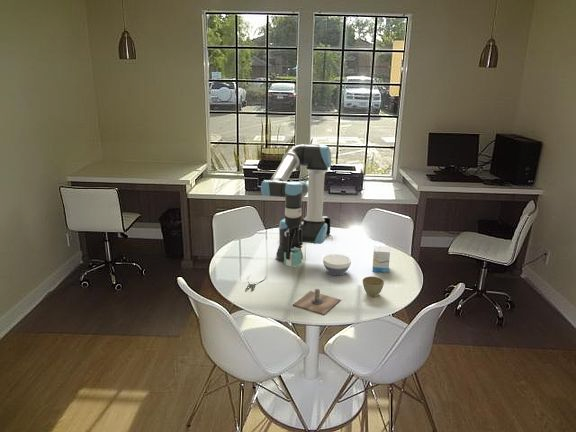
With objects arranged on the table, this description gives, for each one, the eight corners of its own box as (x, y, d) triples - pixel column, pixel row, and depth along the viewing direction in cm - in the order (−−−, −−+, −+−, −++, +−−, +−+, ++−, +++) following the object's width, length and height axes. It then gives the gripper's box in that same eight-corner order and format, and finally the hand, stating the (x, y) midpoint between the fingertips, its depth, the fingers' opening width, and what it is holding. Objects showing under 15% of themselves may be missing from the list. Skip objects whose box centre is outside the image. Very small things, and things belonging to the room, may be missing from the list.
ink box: (388, 273, 238) (390, 252, 235) (372, 271, 240) (373, 251, 237) (388, 266, 246) (389, 246, 243) (372, 265, 248) (373, 245, 245)
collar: (284, 264, 211) (284, 252, 210) (290, 260, 216) (290, 248, 214) (294, 266, 208) (295, 254, 206) (301, 262, 213) (301, 250, 211)
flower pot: (359, 290, 218) (360, 276, 216) (379, 289, 219) (380, 276, 217) (364, 299, 209) (365, 285, 207) (385, 299, 210) (386, 285, 208)
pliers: (266, 274, 235) (265, 291, 216) (266, 275, 235) (265, 292, 216) (247, 274, 235) (245, 291, 216) (247, 275, 235) (245, 292, 216)
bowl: (334, 264, 248) (335, 252, 246) (355, 272, 239) (356, 259, 236) (317, 272, 239) (317, 258, 237) (338, 280, 229) (338, 266, 227)
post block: (292, 305, 203) (293, 292, 201) (310, 292, 216) (310, 279, 214) (324, 315, 195) (324, 301, 193) (340, 300, 208) (341, 287, 206)
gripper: (289, 222, 196) (288, 271, 202) (310, 212, 211) (309, 258, 218) (274, 219, 200) (274, 267, 206) (297, 210, 215) (296, 255, 222)
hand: (292, 262), depth 212 cm, fingers closed on collar, 6 cm apart
